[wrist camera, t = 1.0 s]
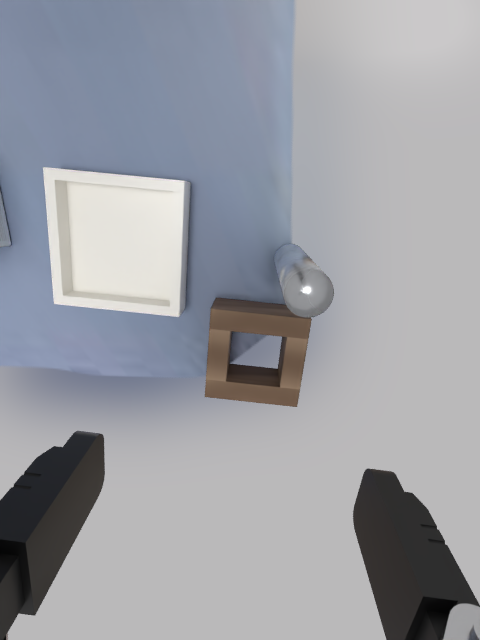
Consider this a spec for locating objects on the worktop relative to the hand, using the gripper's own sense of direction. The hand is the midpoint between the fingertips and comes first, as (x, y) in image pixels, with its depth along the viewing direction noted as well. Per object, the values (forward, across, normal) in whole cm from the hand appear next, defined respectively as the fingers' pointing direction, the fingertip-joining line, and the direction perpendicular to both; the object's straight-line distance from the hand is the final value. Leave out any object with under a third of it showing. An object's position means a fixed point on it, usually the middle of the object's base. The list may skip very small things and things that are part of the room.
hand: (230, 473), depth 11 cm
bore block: (+21, -1, +5) cm, 22 cm away
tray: (+21, +11, -3) cm, 24 cm away
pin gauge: (+21, -3, -3) cm, 22 cm away
